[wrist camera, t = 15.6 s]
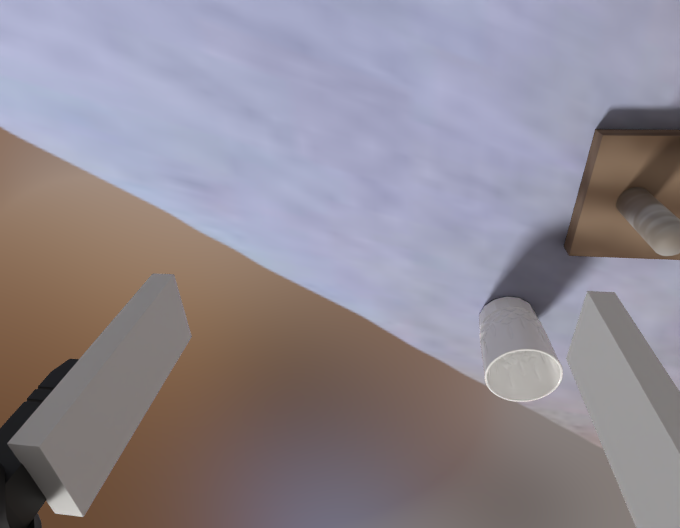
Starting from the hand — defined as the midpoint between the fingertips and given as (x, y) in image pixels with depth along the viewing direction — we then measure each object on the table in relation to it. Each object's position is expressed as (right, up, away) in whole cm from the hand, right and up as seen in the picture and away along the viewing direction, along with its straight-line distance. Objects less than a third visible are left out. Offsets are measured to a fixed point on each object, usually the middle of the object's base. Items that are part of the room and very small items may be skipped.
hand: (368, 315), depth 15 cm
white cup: (+20, -5, +42) cm, 47 cm away
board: (+34, +9, +31) cm, 47 cm away
